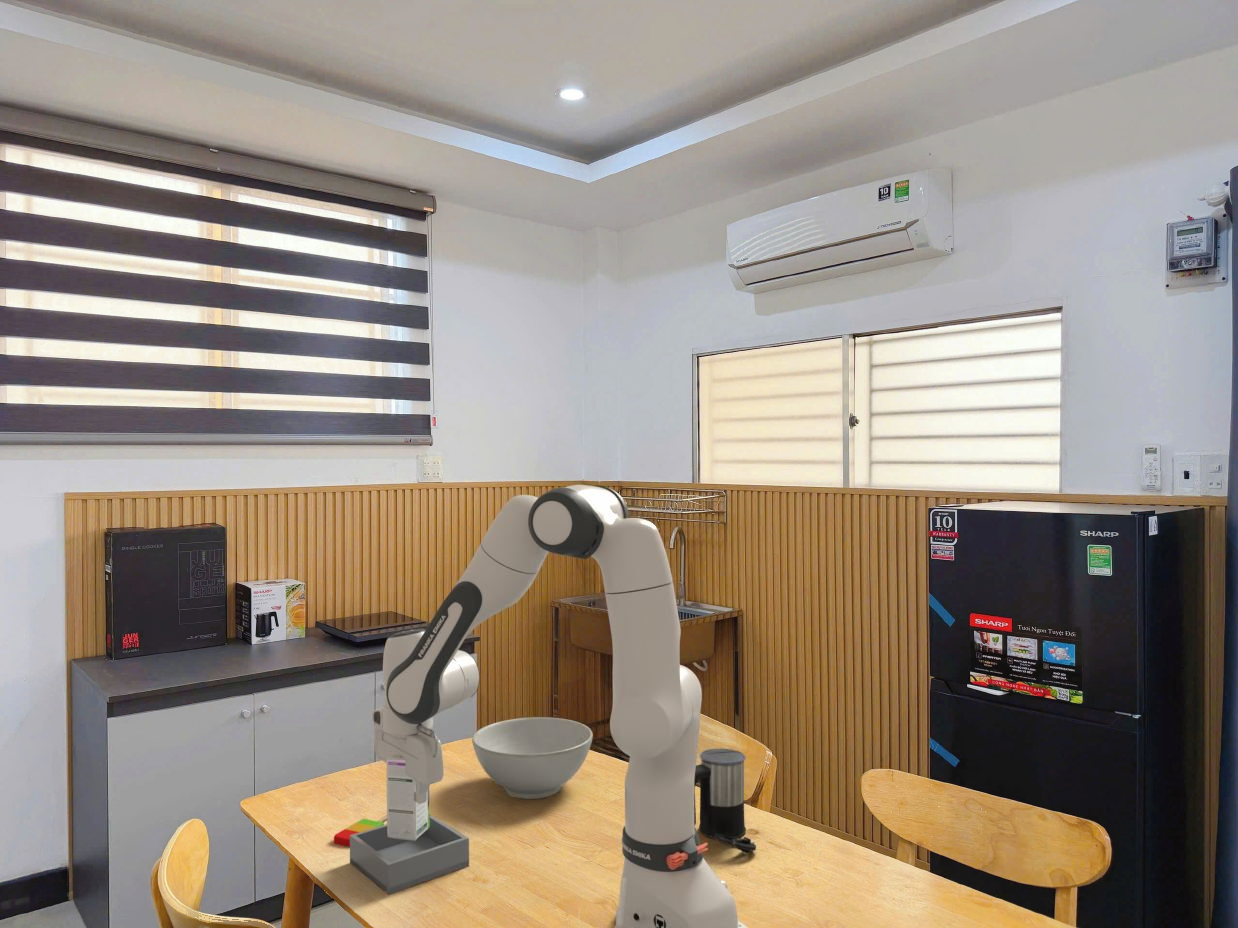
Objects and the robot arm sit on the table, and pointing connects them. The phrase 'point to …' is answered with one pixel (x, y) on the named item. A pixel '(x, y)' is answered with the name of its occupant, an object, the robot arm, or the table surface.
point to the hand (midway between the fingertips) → (408, 794)
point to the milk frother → (722, 797)
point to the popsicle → (356, 830)
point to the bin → (408, 855)
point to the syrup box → (404, 803)
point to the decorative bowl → (532, 754)
